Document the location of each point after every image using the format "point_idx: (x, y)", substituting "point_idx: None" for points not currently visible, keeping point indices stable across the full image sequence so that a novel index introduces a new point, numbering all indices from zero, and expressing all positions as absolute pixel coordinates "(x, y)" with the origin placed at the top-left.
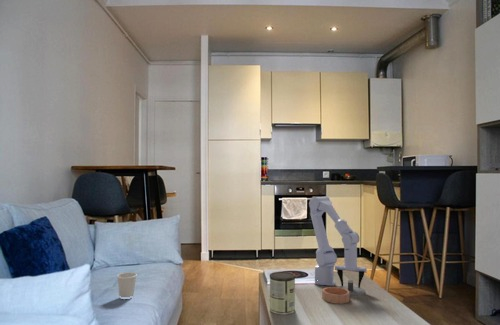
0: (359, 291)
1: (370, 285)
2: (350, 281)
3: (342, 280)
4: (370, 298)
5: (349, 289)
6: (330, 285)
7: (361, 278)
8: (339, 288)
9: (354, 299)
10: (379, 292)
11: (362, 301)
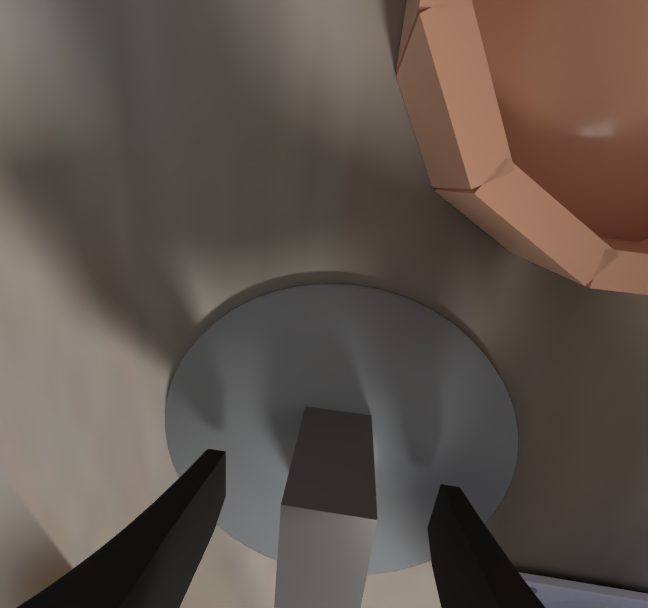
0: (228, 418)
1: None
2: (324, 569)
3: (486, 576)
4: (91, 201)
5: (351, 426)
6: (548, 579)
7: (60, 592)
8: (608, 245)
9: (313, 87)
10: (29, 439)
11: (190, 2)
